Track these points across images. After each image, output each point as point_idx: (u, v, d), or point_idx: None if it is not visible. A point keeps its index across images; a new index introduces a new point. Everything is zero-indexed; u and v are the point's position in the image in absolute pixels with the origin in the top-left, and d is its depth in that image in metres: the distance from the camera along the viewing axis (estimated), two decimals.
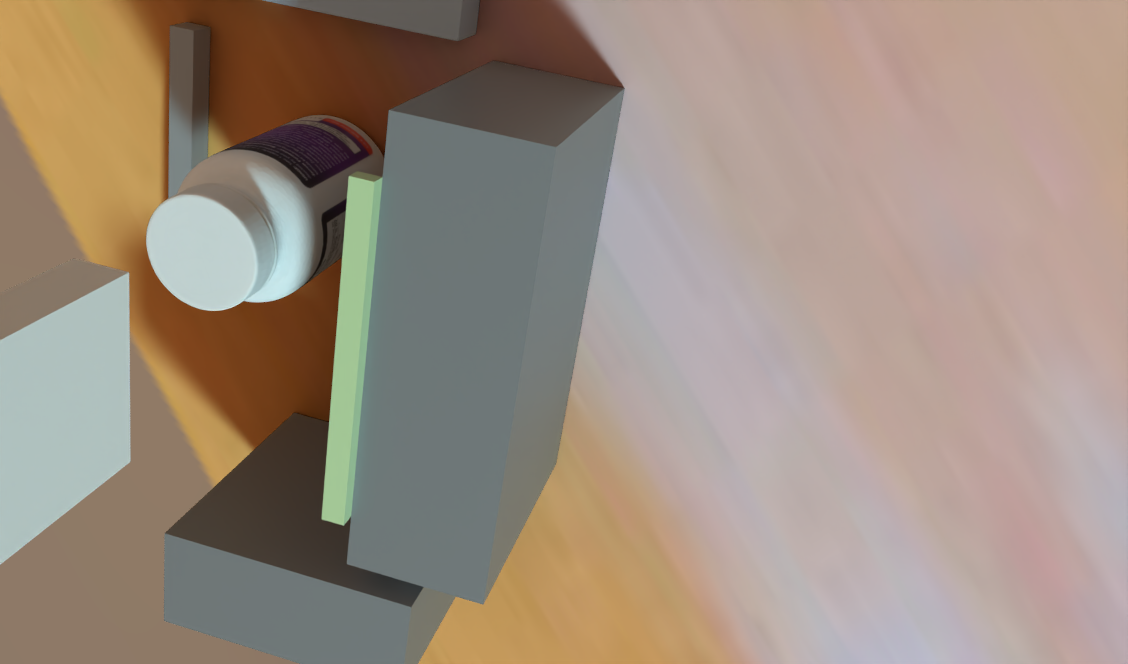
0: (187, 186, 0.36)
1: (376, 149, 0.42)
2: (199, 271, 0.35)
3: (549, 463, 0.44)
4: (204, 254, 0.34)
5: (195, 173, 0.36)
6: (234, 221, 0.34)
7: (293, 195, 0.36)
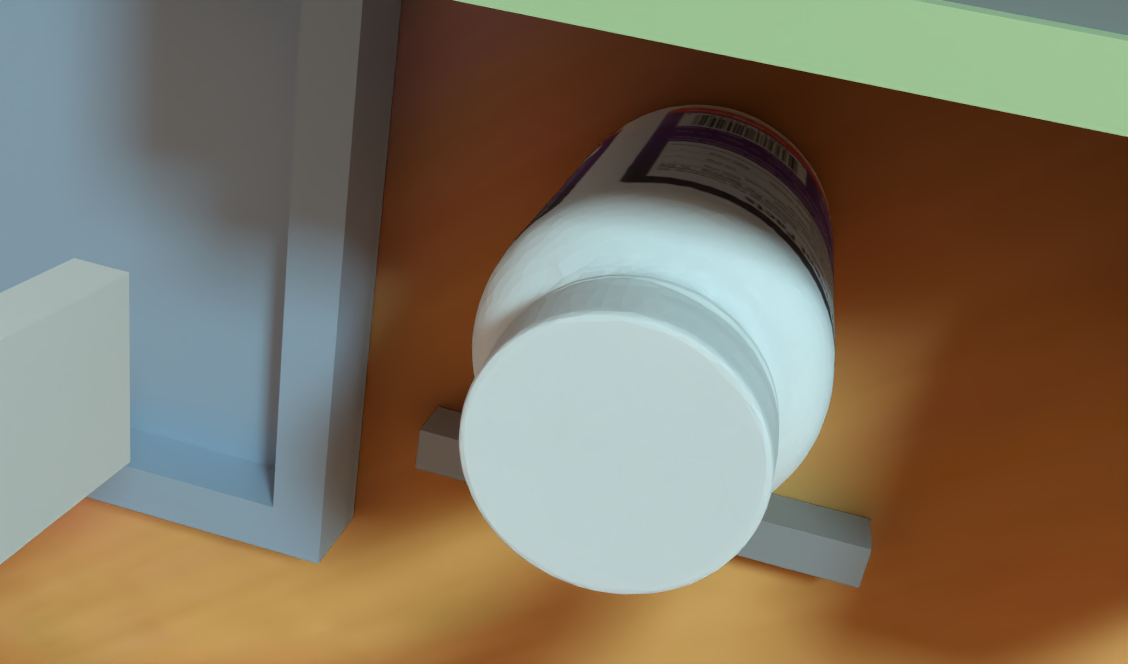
0: None
1: None
2: (658, 476, 0.13)
3: None
4: (611, 451, 0.13)
5: None
6: (514, 351, 0.13)
7: (547, 229, 0.15)
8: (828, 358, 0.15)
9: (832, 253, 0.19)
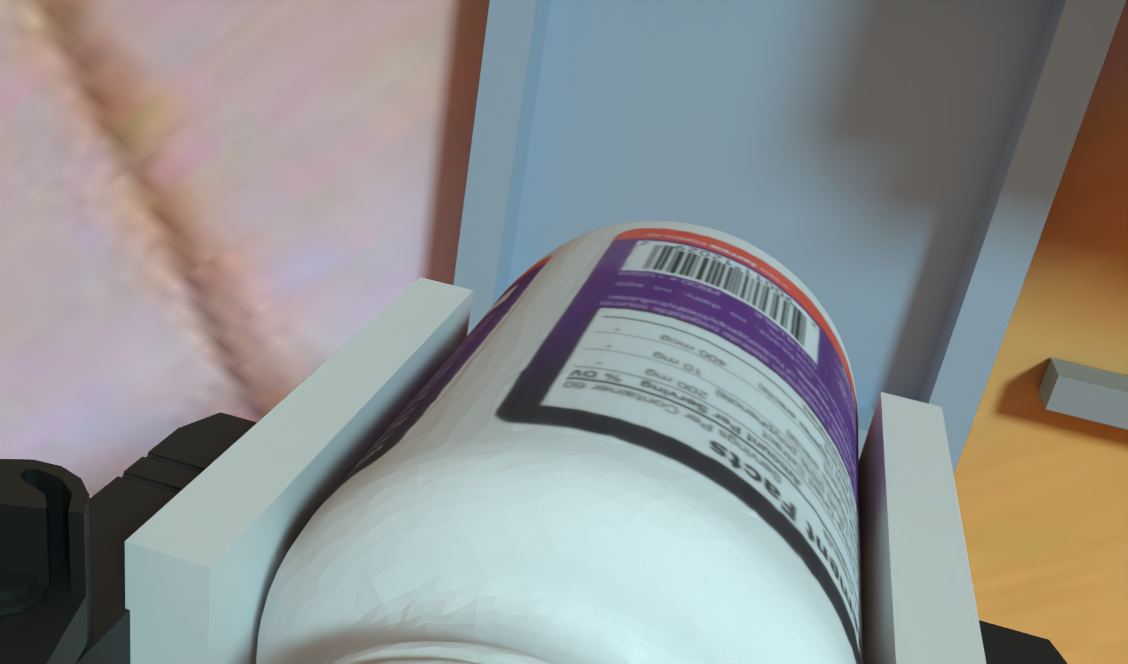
0: None
1: (557, 249, 0.14)
2: None
3: None
4: None
5: None
6: None
7: (360, 509, 0.09)
8: None
9: (858, 464, 0.12)
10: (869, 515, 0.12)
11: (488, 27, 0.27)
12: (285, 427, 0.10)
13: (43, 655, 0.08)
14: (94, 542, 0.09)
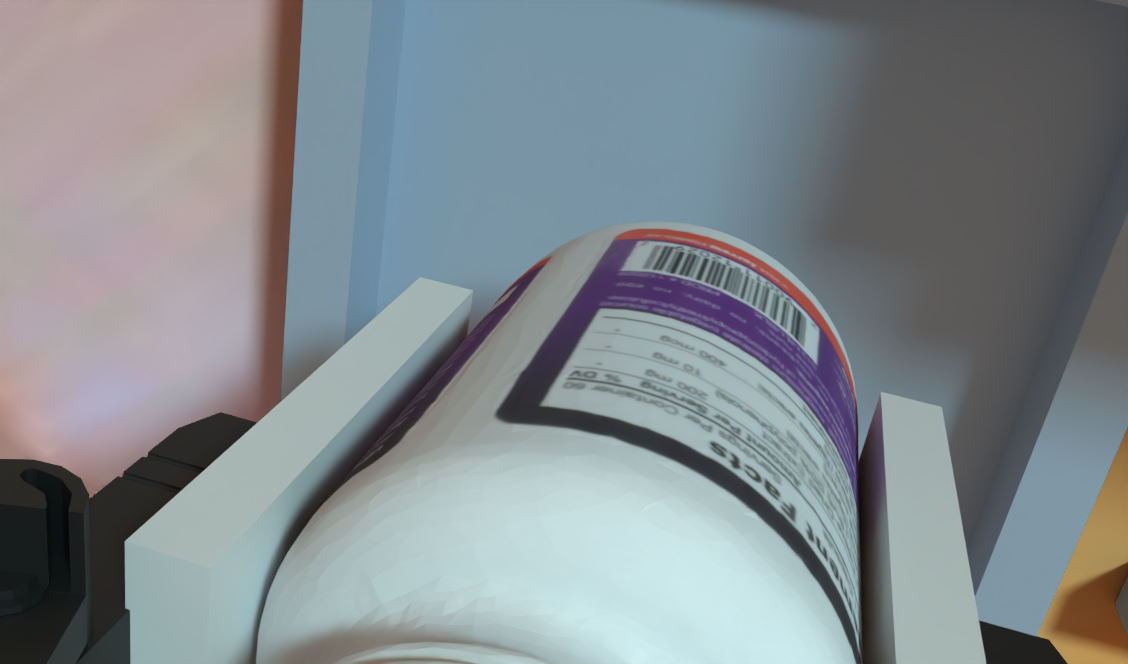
0: None
1: (556, 250, 0.14)
2: None
3: None
4: None
5: None
6: None
7: (360, 509, 0.09)
8: None
9: (858, 465, 0.12)
10: (869, 515, 0.12)
11: (301, 88, 0.18)
12: (285, 427, 0.10)
13: (43, 655, 0.08)
14: (96, 542, 0.09)
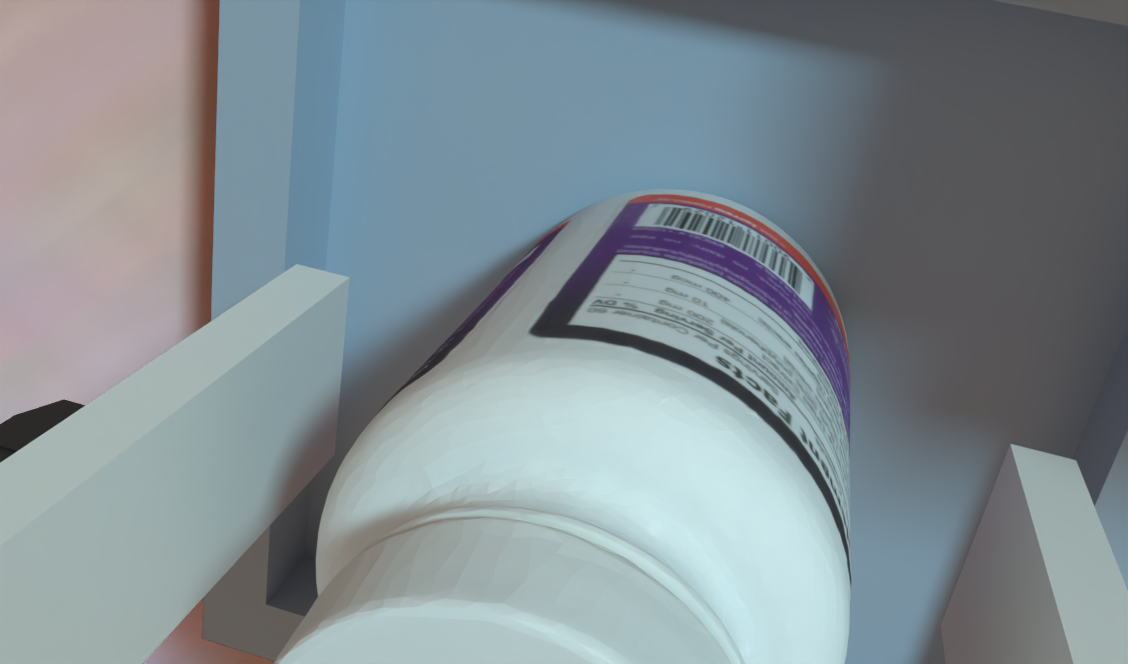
0: None
1: (574, 215, 0.16)
2: None
3: None
4: None
5: None
6: (315, 653, 0.08)
7: (413, 410, 0.10)
8: (840, 614, 0.10)
9: (849, 402, 0.14)
10: (1015, 582, 0.11)
11: (219, 127, 0.16)
12: (110, 412, 0.10)
13: None
14: None
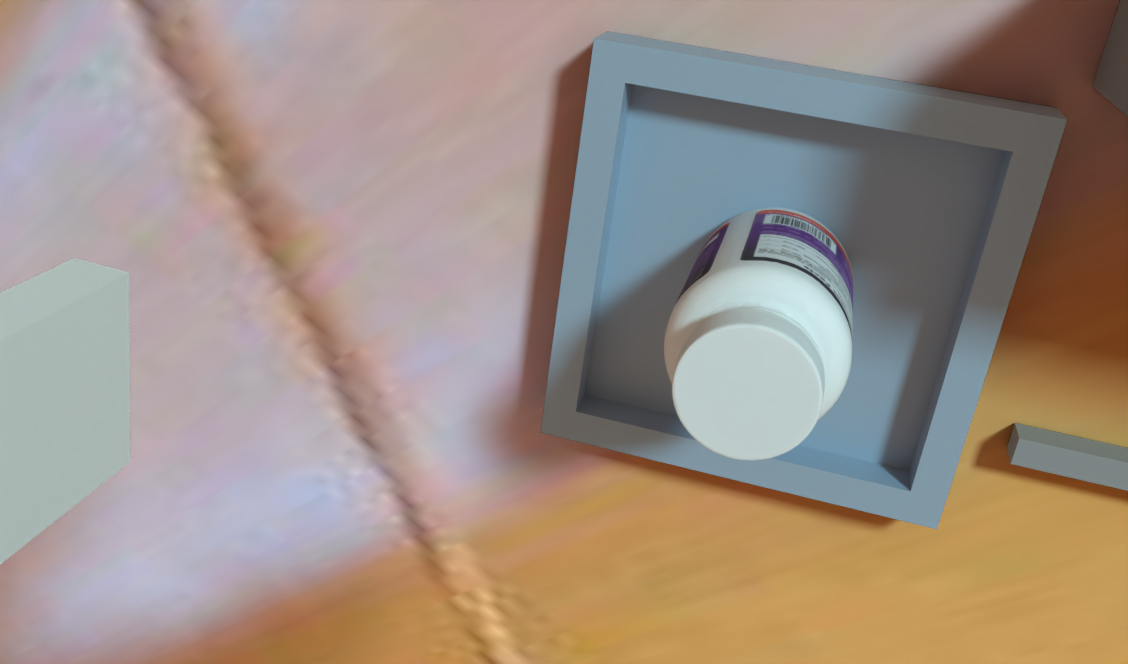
0: None
1: (729, 220, 0.36)
2: (768, 400, 0.28)
3: None
4: (746, 389, 0.28)
5: None
6: (701, 343, 0.28)
7: (706, 285, 0.30)
8: (848, 345, 0.30)
9: (852, 291, 0.34)
10: None
11: (575, 185, 0.36)
12: None
13: None
14: None
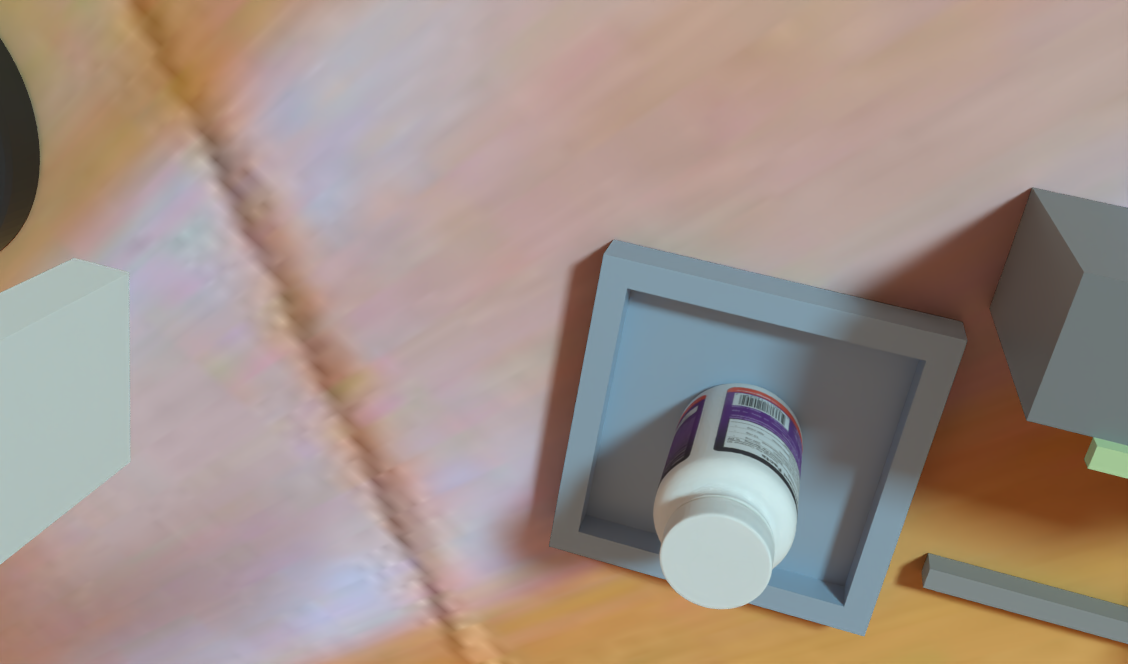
0: None
1: (706, 392, 0.45)
2: (732, 568, 0.38)
3: None
4: (715, 559, 0.38)
5: None
6: (682, 525, 0.38)
7: (687, 470, 0.40)
8: (793, 519, 0.39)
9: (800, 459, 0.43)
10: None
11: (584, 361, 0.45)
12: None
13: None
14: None
